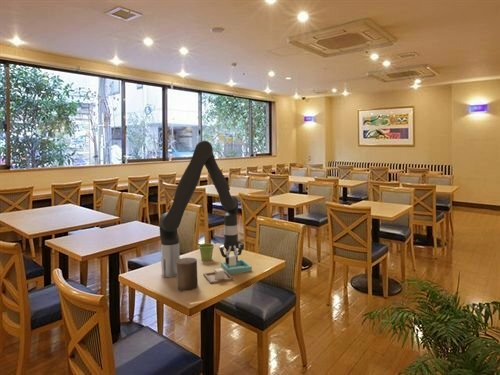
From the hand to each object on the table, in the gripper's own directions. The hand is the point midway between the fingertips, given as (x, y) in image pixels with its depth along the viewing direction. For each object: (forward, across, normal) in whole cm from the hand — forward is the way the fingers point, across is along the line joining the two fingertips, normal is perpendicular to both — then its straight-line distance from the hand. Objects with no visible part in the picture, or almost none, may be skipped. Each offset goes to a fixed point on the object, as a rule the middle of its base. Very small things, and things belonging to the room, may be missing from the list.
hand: (231, 263), depth 193 cm
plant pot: (+4, -7, +24) cm, 25 cm away
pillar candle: (+4, -28, -13) cm, 31 cm away
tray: (+4, -10, -8) cm, 14 cm away
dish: (+4, +2, 0) cm, 5 cm away
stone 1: (+3, -11, -11) cm, 16 cm away
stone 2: (+1, 0, 0) cm, 1 cm away
